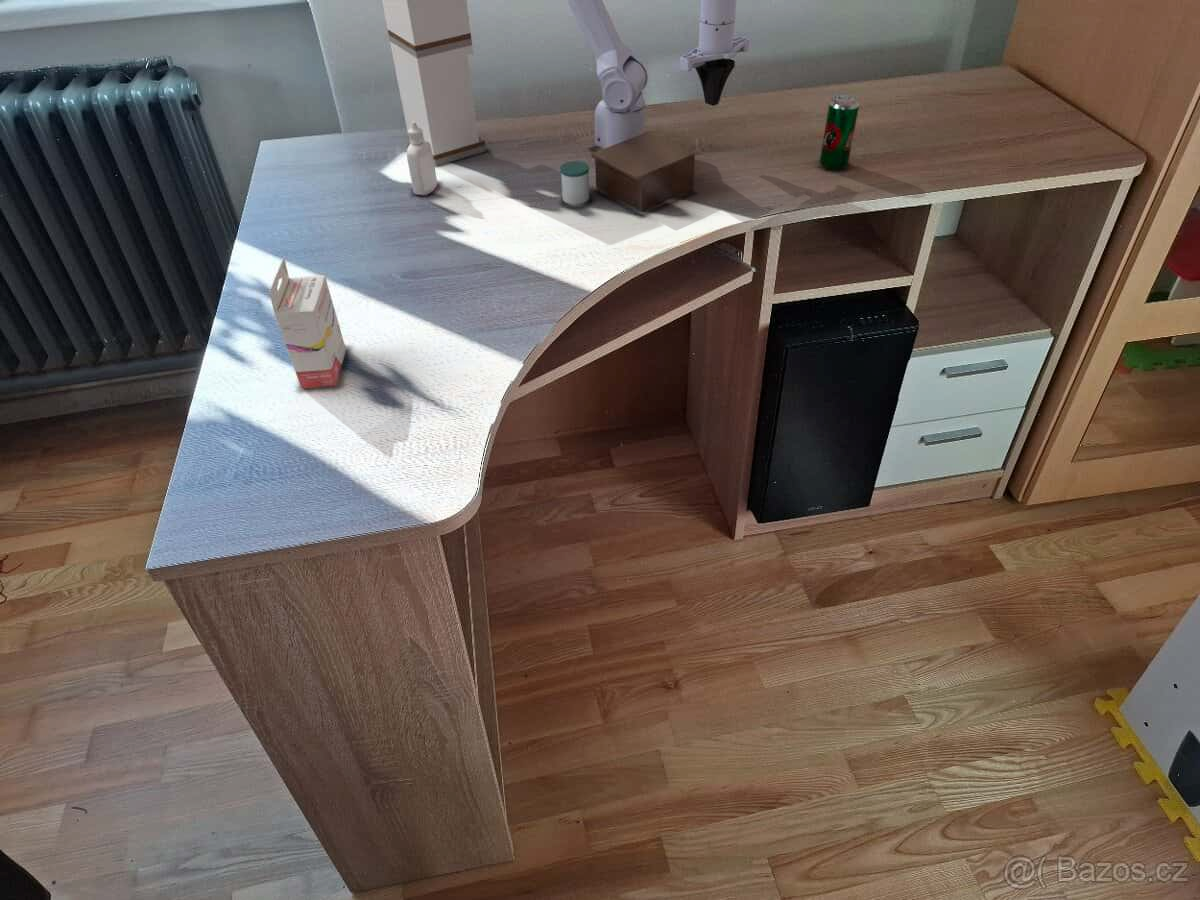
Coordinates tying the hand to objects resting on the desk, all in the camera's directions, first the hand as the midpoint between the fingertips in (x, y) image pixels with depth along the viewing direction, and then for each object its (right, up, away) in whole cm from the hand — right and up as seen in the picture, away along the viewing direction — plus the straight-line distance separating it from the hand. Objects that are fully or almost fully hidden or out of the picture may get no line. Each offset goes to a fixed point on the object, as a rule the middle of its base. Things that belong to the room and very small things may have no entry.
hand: (711, 103), depth 144 cm
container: (-24, -18, -3) cm, 30 cm away
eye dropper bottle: (-51, -15, +2) cm, 53 cm away
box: (-12, -16, -1) cm, 20 cm away
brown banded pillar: (-49, -3, +14) cm, 51 cm away
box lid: (-12, -12, -6) cm, 18 cm away
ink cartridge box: (-57, -50, -35) cm, 83 cm away
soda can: (+23, -10, +4) cm, 25 cm away
